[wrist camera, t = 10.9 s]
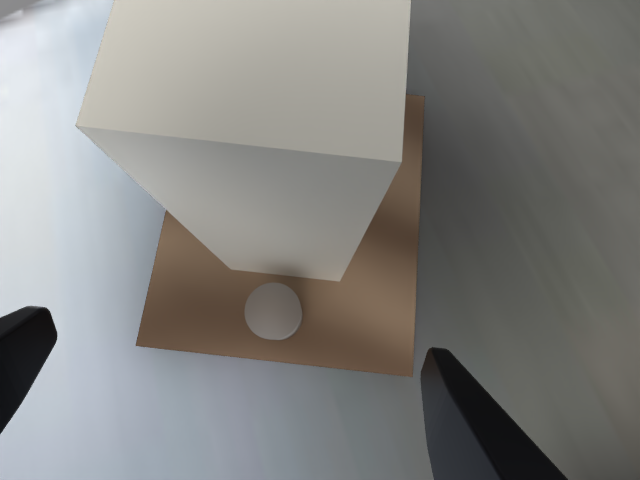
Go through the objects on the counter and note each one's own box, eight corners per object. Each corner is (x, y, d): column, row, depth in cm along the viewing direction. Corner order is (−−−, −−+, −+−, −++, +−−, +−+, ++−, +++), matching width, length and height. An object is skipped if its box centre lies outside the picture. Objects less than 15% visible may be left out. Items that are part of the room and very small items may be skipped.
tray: (405, 374, 18) (439, 386, 13) (147, 345, 18) (90, 347, 13) (418, 109, 21) (448, 46, 17) (203, 85, 21) (174, 15, 17)
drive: (339, 281, 17) (402, 161, 6) (230, 269, 17) (75, 125, 6) (351, 152, 19) (419, -140, 8) (252, 141, 19) (165, -168, 8)
